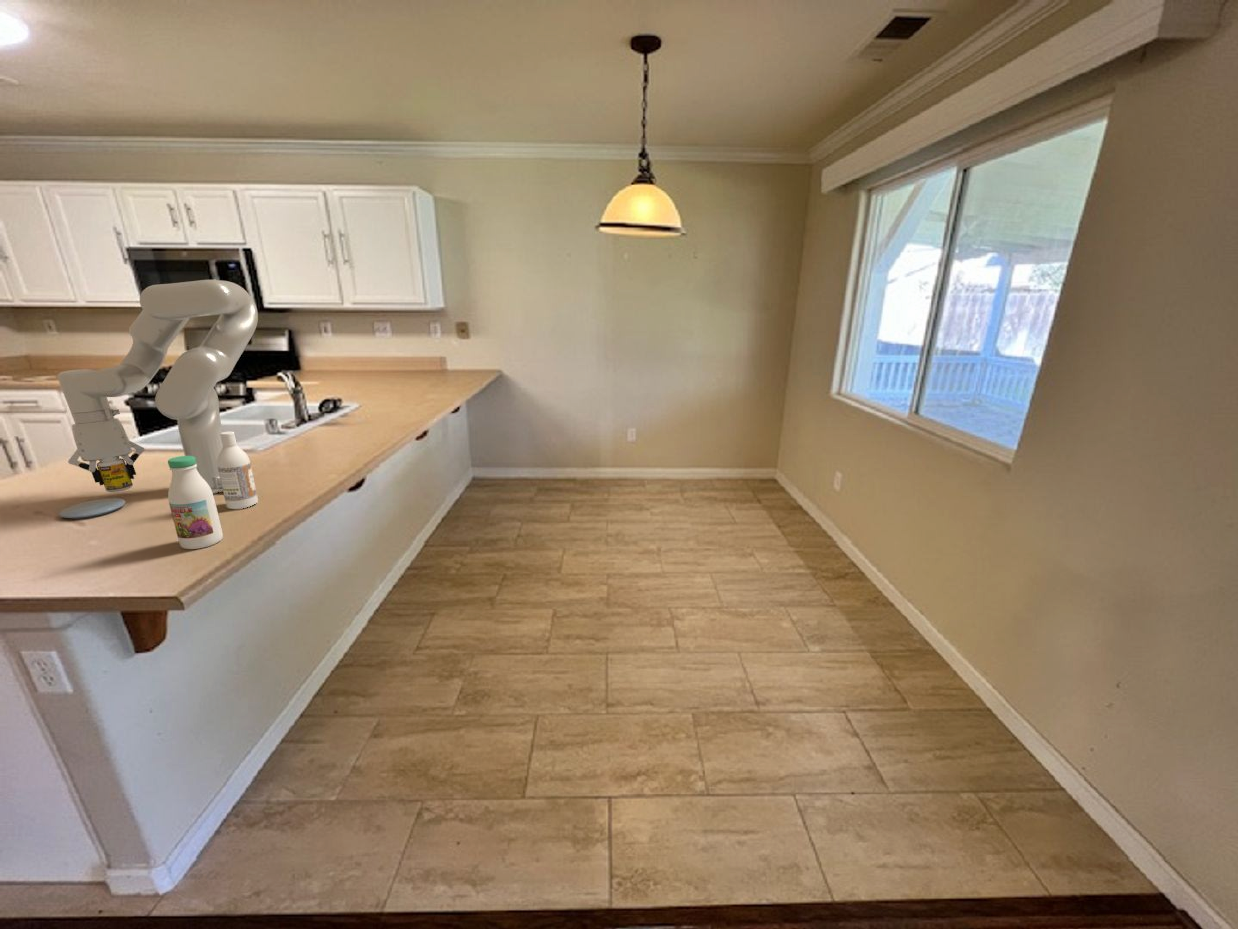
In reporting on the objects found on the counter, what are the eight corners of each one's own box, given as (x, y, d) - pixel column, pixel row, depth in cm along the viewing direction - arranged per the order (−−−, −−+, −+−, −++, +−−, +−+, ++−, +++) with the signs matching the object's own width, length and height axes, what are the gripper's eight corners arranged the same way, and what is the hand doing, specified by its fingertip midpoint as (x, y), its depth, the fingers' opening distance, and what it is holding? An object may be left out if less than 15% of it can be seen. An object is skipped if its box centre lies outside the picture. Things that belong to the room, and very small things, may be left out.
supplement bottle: (104, 494, 139) (90, 458, 135) (109, 488, 143) (96, 453, 140) (131, 489, 142) (118, 454, 138) (135, 484, 146) (123, 449, 143)
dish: (137, 505, 137) (136, 501, 136) (82, 523, 125) (81, 518, 125) (105, 500, 139) (103, 496, 139) (48, 517, 128) (46, 512, 128)
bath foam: (256, 507, 136) (240, 434, 130) (224, 511, 133) (207, 437, 127) (260, 499, 142) (245, 428, 136) (230, 502, 139) (213, 430, 133)
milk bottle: (196, 535, 120) (175, 453, 114) (231, 534, 120) (212, 452, 114) (171, 550, 112) (147, 463, 106) (209, 549, 113) (187, 463, 107)
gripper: (135, 409, 144) (156, 470, 150) (47, 421, 133) (73, 486, 138) (137, 412, 139) (159, 475, 145) (46, 425, 128) (73, 493, 133)
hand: (117, 480), depth 142 cm, fingers closed on supplement bottle, 5 cm apart
